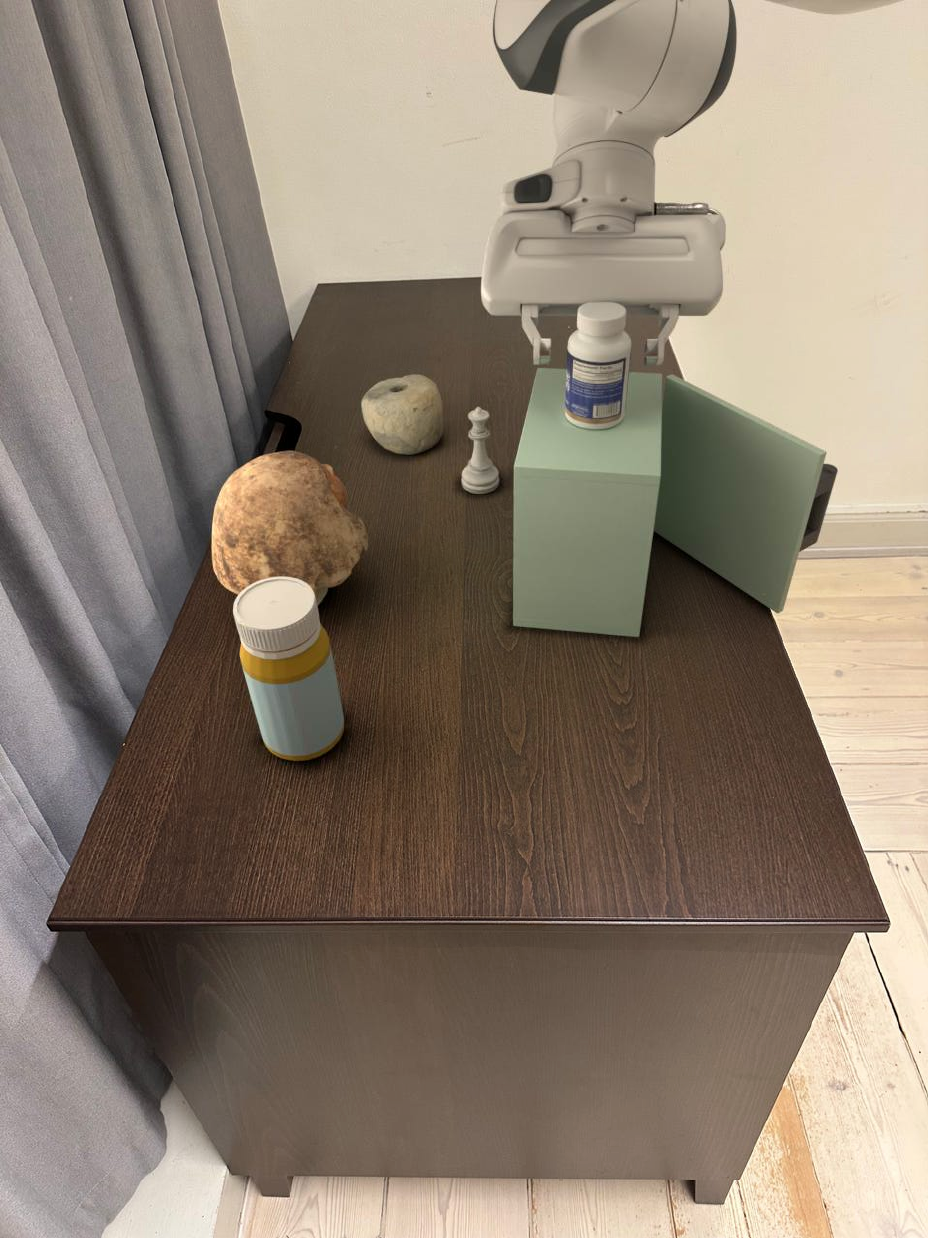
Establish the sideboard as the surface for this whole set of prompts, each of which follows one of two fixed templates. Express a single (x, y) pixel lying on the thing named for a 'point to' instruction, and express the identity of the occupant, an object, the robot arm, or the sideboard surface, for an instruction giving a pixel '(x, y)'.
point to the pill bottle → (598, 366)
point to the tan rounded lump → (285, 525)
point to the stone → (404, 414)
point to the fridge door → (738, 491)
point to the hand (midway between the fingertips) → (597, 362)
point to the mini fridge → (585, 511)
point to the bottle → (289, 668)
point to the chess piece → (479, 458)
